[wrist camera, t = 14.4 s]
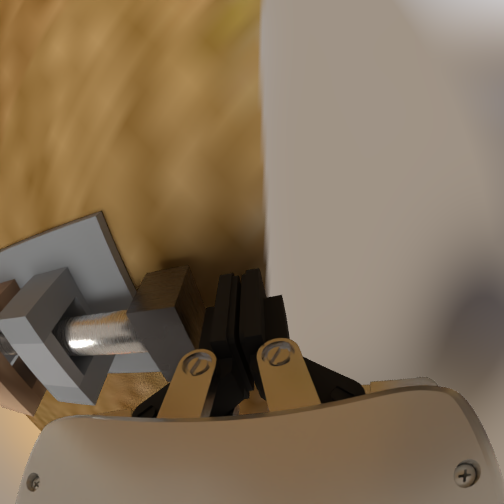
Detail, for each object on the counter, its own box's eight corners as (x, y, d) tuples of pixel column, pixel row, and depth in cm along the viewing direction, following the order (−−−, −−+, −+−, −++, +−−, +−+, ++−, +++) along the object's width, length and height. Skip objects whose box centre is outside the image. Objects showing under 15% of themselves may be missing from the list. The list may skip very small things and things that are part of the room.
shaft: (215, 334, 14) (210, 378, 11) (23, 347, 15) (6, 374, 13) (188, 264, 12) (174, 306, 10) (-7, 303, 14) (-28, 329, 11)
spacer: (64, 356, 16) (33, 416, 11) (32, 355, 16) (2, 407, 12) (14, 278, 13) (-36, 335, 8) (-13, 286, 14) (-56, 335, 9)
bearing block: (175, 363, 17) (160, 428, 12) (1, 362, 19) (-19, 396, 14) (101, 211, 12) (44, 262, 8) (-54, 275, 14) (-84, 306, 10)
